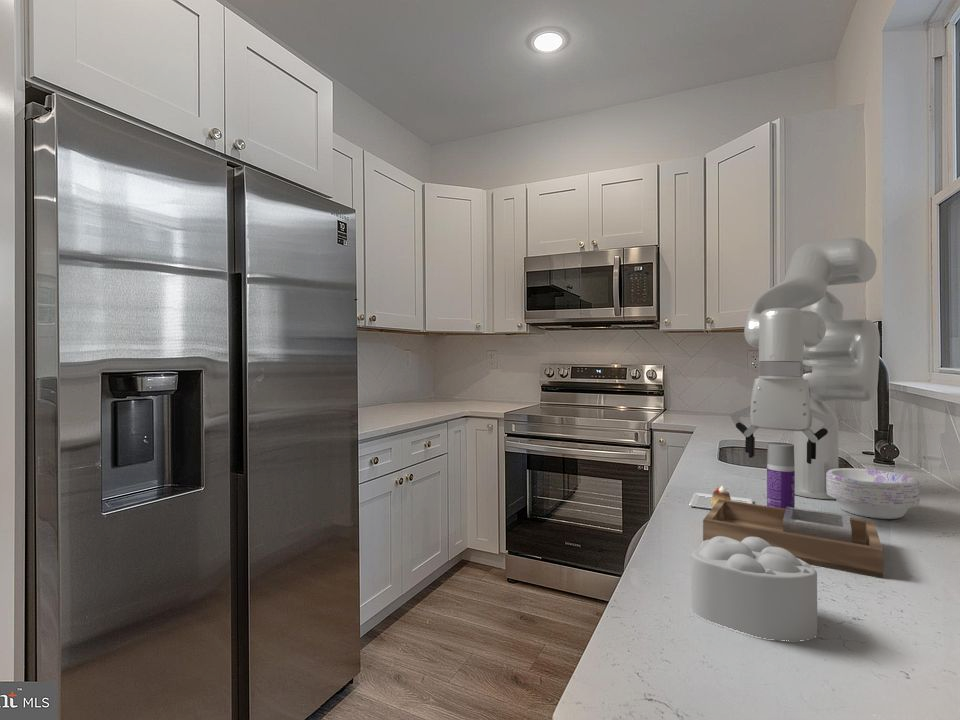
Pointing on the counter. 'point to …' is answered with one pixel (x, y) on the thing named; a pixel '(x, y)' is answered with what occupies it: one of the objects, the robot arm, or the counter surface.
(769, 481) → the container
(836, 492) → the paper bowls
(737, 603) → the lumpy-topped squat cylinder
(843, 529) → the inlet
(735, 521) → the walled tray
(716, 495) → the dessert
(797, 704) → the counter surface
